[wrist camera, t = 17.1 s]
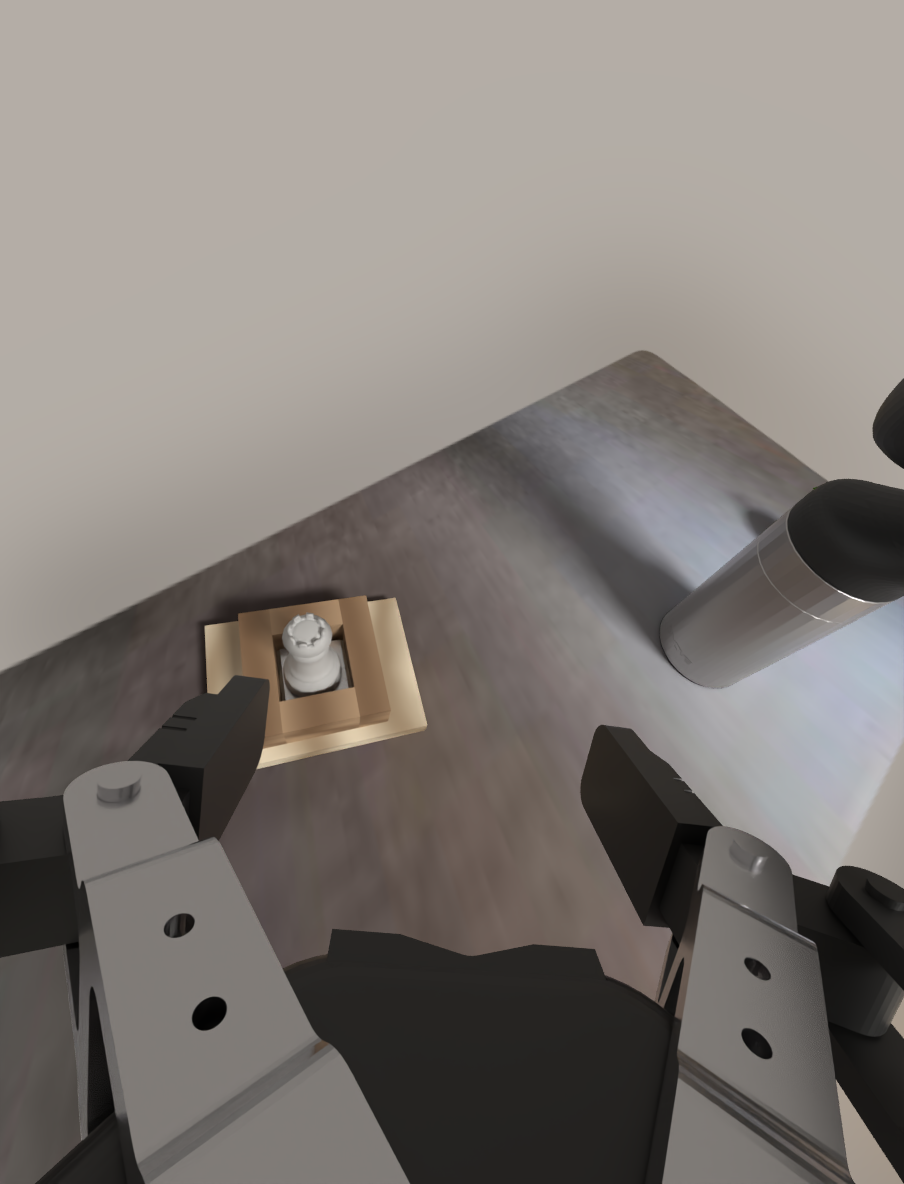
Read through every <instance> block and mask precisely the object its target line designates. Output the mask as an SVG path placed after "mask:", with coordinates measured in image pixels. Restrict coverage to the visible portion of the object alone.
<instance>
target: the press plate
mask: <svg viewBox="0 0 904 1184" xmlns="http://www.w3.org/2000/svg"><path fill="white" fill-rule="evenodd" d="M329 646H330V647H332V649H333V650H334V651H335V652H336V653H337V654H338V656H339V660H340V663H341V668H342V672H341V678H340V681H339V682H338V684H337V685H336V687H335V689H333V690H332V691H337V690H342V689H347V688H349V687H348V682H347V676H346V671H345V665H344V659H343V654H342V648H341V643H340V640H334V641H331V643H330V645H329ZM288 654H289V652H288V650H287V649H280V656H281V665H282V673H283V667H284V662H285V659H286V657H287V656H288ZM283 682H284V691H285V699H286V700H291V699H296V698H301V697H300V696H298V695H296V694H294V693H292V692H291V691H290V689H289V688H288V687H287V686H286V684H285V680H284V676H283ZM332 691H331V692H332Z"/></svg>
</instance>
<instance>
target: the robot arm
mask: <svg viewBox="0 0 904 1184" xmlns="http://www.w3.org/2000/svg"><path fill="white" fill-rule="evenodd" d="M873 438H874V441H875V443H876V444H877V446H878V447H879V448H880V449H881V450H882V451H883V453H884V454H885V455H887V457H888V458H890V459H891V460H892V461H893V462H894V463H896V464H897V465H899V466H900V467H902V468H903V469H904V379H903V380H902V381H901V382H900V383H899V384H898V385H897V386H896V387H895V388H894V390H893V391H892V392H891V393H890V394H889V396H888V397H887V398H886V400H885V401H884V403H883V404H882V406H881V407H880V409H879V411H878V413H877V415H876V417H875V420H874V423H873ZM902 596H904V490H903V489H898V488H893V487H889V486H884V485H880V484H875V483H872V482H868V481H863V480H856V479H838V480H833V481H829V482H826V483H824V484H822V485H820V486H818V487H817V488H815V489H814V490H812V491H811V492H810V493H809V494H807V495H806V496H805V497H804V498H803V499H801V500H800V501H799V502H798V503H797V504H796V505H794V506H793V507H792V508H791V509H790V510H788V511H787V512H786V513H785V514H784V515H783V516H781V517H780V518H779V519H778V520H777V521H775V522H774V523H773V524H772V525H771V526H770V527H768V528H767V529H766V530H765V531H764V532H763V533H762V534H760V535H759V536H758V537H757V538H756V539H754V540H753V541H752V542H751V543H750V544H749V545H747V546H746V547H745V548H744V549H743V550H741V551H740V552H739V553H738V554H737V555H736V556H734V557H733V558H732V559H731V560H730V561H728V562H727V563H726V564H725V565H724V566H723V567H721V568H720V569H719V570H718V571H717V572H715V573H714V574H713V575H712V576H711V577H710V578H708V579H707V580H706V581H705V582H704V583H702V584H701V585H700V586H699V587H698V588H697V589H695V590H694V591H693V592H692V593H691V594H689V595H688V596H687V597H686V598H685V599H683V600H682V601H681V602H680V603H679V604H678V605H677V606H675V607H674V608H673V609H672V610H671V611H670V612H668V613H667V614H666V615H665V617H664V618H663V620H662V623H661V626H660V639H661V644H662V647H663V649H664V652H665V654H666V655H667V657H668V659H669V660H670V662H671V663H672V664H673V665H674V667H675V668H676V669H677V670H678V671H679V672H680V673H681V674H683V675H684V676H685V677H686V678H688V679H690V680H691V681H693V682H694V683H697V684H699V685H702V686H704V687H709V688H725V687H728V686H731V685H733V684H735V683H737V682H738V681H740V680H742V679H744V678H746V677H748V676H750V675H752V674H754V673H756V672H758V671H760V670H762V669H764V668H766V667H768V666H770V665H772V664H774V663H776V662H777V661H779V660H781V659H783V658H785V657H787V656H789V655H791V654H793V653H795V652H797V651H799V650H801V649H803V648H804V647H806V646H808V645H810V644H812V643H814V642H816V641H818V640H820V639H822V638H824V637H826V636H828V635H830V634H831V633H833V632H835V631H837V630H839V629H841V628H843V627H845V626H847V625H849V624H851V623H853V622H855V621H857V620H858V619H860V618H862V617H864V616H866V615H868V614H870V613H871V612H873V611H875V610H877V609H879V608H881V607H883V606H885V605H887V604H889V603H891V602H893V601H895V600H896V599H899V598H900V597H902ZM269 692H270V682H269V680H268V679H262V678H254V677H247V676H240V675H235V676H233V677H232V678H231V680H230V681H229V682H228V683H227V684H226V685H225V687H224V688H223V689H222V690H221V691H220V692H219V693H218V694H211V693H204V694H202V695H200V696H198V697H195V698H193V699H191V700H189V701H187V702H185V703H184V704H183V705H182V706H181V707H180V708H179V709H178V710H177V711H176V712H175V713H174V714H173V716H172V718H169V719H168V720H167V721H166V722H165V723H164V724H163V725H162V728H159V729H158V731H157V732H156V733H155V734H154V735H153V736H152V737H151V738H150V739H149V740H148V741H147V742H146V743H145V744H144V745H143V746H142V747H141V748H140V749H139V750H138V751H137V752H136V753H135V754H134V755H133V756H132V757H131V758H130V759H129V760H128V761H124V762H116V763H111V764H107V765H103V766H100V767H97V768H95V769H92V770H90V771H88V772H86V773H84V774H82V775H81V776H79V777H78V778H76V779H75V780H74V781H73V782H72V783H71V784H70V785H69V786H68V787H67V789H66V790H65V793H64V795H60V796H53V797H44V798H33V799H23V800H12V801H2V802H0V958H1V957H6V956H10V955H15V954H20V953H25V952H30V951H35V950H40V949H45V948H50V947H55V946H60V945H63V955H64V963H65V971H66V980H67V988H68V996H69V1004H70V1013H71V1021H72V1029H73V1037H74V1045H75V1054H76V1065H77V1081H78V1102H79V1117H80V1129H81V1140H82V1141H81V1142H80V1143H79V1144H78V1145H77V1146H76V1147H75V1148H74V1149H73V1150H71V1151H70V1152H69V1153H68V1154H67V1155H66V1156H65V1157H64V1158H63V1159H62V1160H61V1161H59V1162H58V1163H57V1164H56V1165H55V1166H54V1167H53V1168H52V1169H51V1170H50V1171H48V1172H47V1173H46V1174H45V1175H44V1176H43V1177H42V1178H41V1179H40V1180H39V1181H38V1182H36V1183H35V1184H855V1183H854V1181H853V1180H852V1178H851V1175H850V1172H849V1169H848V1164H847V1158H846V1151H845V1144H844V1137H843V1129H842V1122H841V1115H840V1108H839V1100H838V1093H837V1086H836V1080H837V1082H838V1083H839V1085H840V1086H841V1088H842V1089H843V1090H844V1092H845V1094H846V1095H847V1097H848V1099H849V1100H850V1102H851V1103H852V1105H853V1106H854V1108H855V1109H856V1111H857V1112H858V1114H859V1115H860V1117H861V1119H862V1120H863V1122H864V1123H865V1125H866V1126H867V1128H868V1129H869V1131H870V1132H871V1134H872V1135H873V1137H874V1138H875V1140H876V1142H877V1143H878V1145H879V1146H880V1148H881V1149H882V1151H883V1152H884V1154H885V1155H886V1157H887V1158H888V1160H889V1161H890V1163H891V1165H892V1166H893V1167H894V1169H895V1171H896V1172H897V1173H898V1175H899V1177H900V1178H901V1180H902V1182H903V1183H904V1039H903V1037H902V1036H901V1035H900V1034H899V1032H898V1031H897V1030H896V1029H895V1028H894V1026H893V1025H892V1024H891V1021H892V1019H893V1017H894V1015H895V1013H896V1011H897V1009H898V1007H899V1005H900V1003H901V1002H902V999H903V998H904V889H903V888H901V887H900V886H898V885H897V884H895V883H893V882H891V881H890V880H888V879H886V878H884V877H882V876H880V875H877V874H875V873H873V872H870V871H868V870H865V869H861V868H858V867H854V866H841V867H839V868H838V869H837V870H836V873H835V875H834V877H833V880H832V882H831V884H830V887H829V886H826V885H823V884H820V883H817V882H814V881H810V880H807V879H804V878H801V877H798V876H795V875H792V871H791V869H790V867H789V865H788V863H787V862H786V861H785V859H784V858H783V857H782V856H781V855H780V854H779V853H778V852H777V851H776V850H774V849H773V848H772V847H770V846H769V845H768V844H766V843H765V842H763V841H762V840H760V839H758V838H756V837H754V836H752V835H750V834H748V833H746V832H744V831H741V830H738V829H735V828H731V827H725V826H722V824H721V823H720V822H719V821H718V820H717V819H716V818H715V816H714V815H713V814H712V813H711V812H710V811H709V810H708V808H707V807H706V806H705V805H704V804H703V803H702V801H701V800H700V799H699V798H698V797H697V796H696V795H695V793H692V790H691V789H690V788H689V787H688V785H687V784H686V783H685V782H684V781H681V777H680V776H679V775H678V774H677V773H676V772H675V770H674V769H673V768H672V767H671V766H670V765H669V764H668V763H667V762H665V761H664V760H662V759H661V758H660V757H658V756H657V755H655V754H654V753H653V752H651V751H650V750H649V749H648V748H647V747H646V745H645V744H644V743H643V742H642V741H641V739H640V738H639V737H638V736H637V735H636V733H635V732H634V731H633V730H632V729H629V728H621V727H614V726H606V725H600V726H599V727H598V728H597V729H596V731H595V733H594V736H593V740H592V744H591V747H590V751H589V754H588V758H587V762H586V765H585V769H584V772H583V776H582V780H581V800H582V804H583V807H584V809H585V811H586V813H587V815H588V817H589V819H590V821H591V823H592V825H593V827H594V829H595V831H596V833H597V835H598V837H599V839H600V841H601V843H602V845H603V847H604V849H605V851H606V852H607V854H608V856H609V858H610V860H611V862H612V864H613V866H614V868H615V870H616V872H617V874H618V876H619V878H620V880H621V882H622V884H623V886H624V888H625V890H626V892H627V894H628V896H629V898H630V900H631V902H632V904H633V906H634V908H635V910H636V912H637V914H638V916H639V918H640V920H641V922H642V924H643V926H655V927H667V928H670V929H671V931H672V935H671V938H670V941H669V943H668V946H667V949H666V954H665V958H664V963H663V967H662V971H661V976H660V980H659V985H658V989H657V993H656V998H655V1002H654V1001H653V1000H651V999H650V998H649V997H647V996H646V995H644V994H643V993H641V992H639V991H637V990H636V989H634V988H632V987H630V986H629V985H627V984H625V983H622V982H620V981H618V980H616V979H613V978H611V977H608V976H605V975H604V972H603V970H602V967H601V964H600V962H599V959H598V956H597V954H596V951H595V949H586V948H573V947H560V946H547V945H534V944H533V945H528V946H523V947H518V948H513V949H508V950H503V951H498V952H493V953H488V954H483V955H478V956H466V955H462V954H459V953H456V952H453V951H450V950H447V949H444V948H441V947H438V946H434V945H431V944H428V943H425V942H422V941H419V940H416V939H413V938H410V937H407V936H404V935H401V934H391V933H378V932H365V931H352V930H339V929H332V934H331V940H330V945H329V951H328V954H326V955H321V956H316V957H312V958H309V959H306V960H302V961H299V962H296V963H294V964H292V965H289V966H287V967H285V968H283V969H282V967H281V965H280V963H279V961H278V959H277V957H276V955H275V953H274V951H273V949H272V947H271V945H270V943H269V941H268V939H267V937H266V935H265V933H264V931H263V929H262V927H261V925H260V923H259V921H258V919H257V917H256V915H255V913H254V911H253V909H252V907H251V905H250V903H249V901H248V899H247V897H246V895H245V893H244V890H243V888H242V886H241V884H240V882H239V880H238V878H237V876H236V874H235V872H234V870H233V868H232V866H231V864H230V862H229V860H228V858H227V856H226V854H225V852H224V850H223V848H222V846H221V845H220V843H219V839H220V837H221V835H222V834H223V832H224V830H225V828H226V826H227V824H228V822H229V820H230V818H231V816H232V815H233V813H234V811H235V809H236V807H237V805H238V803H239V801H240V799H241V797H242V795H243V794H244V792H245V790H246V788H247V786H248V784H249V782H250V780H251V778H252V776H253V775H254V773H255V771H256V769H257V766H258V764H259V761H260V758H261V754H262V750H263V745H264V738H265V729H266V720H267V711H268V701H269Z"/></svg>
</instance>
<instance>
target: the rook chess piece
mask: <svg viewBox="0 0 904 1184" xmlns="http://www.w3.org/2000/svg"><path fill="white" fill-rule="evenodd" d="M292 619H293V620H291V621H289V623H288V624H287V625H286V627H285V628H284V631H283V635H282V640H283V644H284V647H285V648H286V649H287V650H288V652H289V654H288V656H287V657H286V659H285V662H284V667H283V676H284V680H285V684H286V686H287V687H288V688H289V689H290V691H291V692H292V693H294V694H296V695H298V696H300V697H306V696H311V695H317V694H322V693H327V692H331V691H332V690H333V689H335V687H336V685H337V684H338V682H339V681H340V678H341V672H342V668H341V663H340V660H339V656H338V654H337V653H336V652H335V651H334V650H333V649H332V647H330V646H329V645H330V643H331V639H332V631H331V627H330V625H329V624H328V623H327V622H326V620H325V619H323V618H321V617H319V616H317V615H314V613H307V612H306V615H301V616H299V614H298V615H296V616H295V617H293V618H292Z"/></svg>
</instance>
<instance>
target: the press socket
mask: <svg viewBox="0 0 904 1184" xmlns="http://www.w3.org/2000/svg"><path fill="white" fill-rule="evenodd" d="M306 612H307V613H314V615H317V616H319V617H321V618H323V619H325V620H326V622H327V623H328V624H329V625H330V627H331V631H332V639H331V641H334V640H340V643H341V648H342V654H343V659H344V665H345V671H346V676H347V682H348V687H349V688H347V689H342V690H337V691H332V692H327V693H322V694H317V695H311V696H306V697H301V698H296V699H291V700H286V699H285V691H284V682H283V673H282V665H281V656H280V649H286V648H285V647H284V644H283V640H282V635H283V631H284V628H285V627H286V625H287V624H288V623H289V621H291V620H293V619H292V618H293V617H295V616H296V615H298V614H299V616H301V615H306ZM205 644H206V669H207V693H211V694H218V693H219V692H220V691H221V690H222V689H223V688H224V687H225V685H226V684H227V683H228V682H229V681H230V680H231V678H232V677H233V676H235V675H240V676H247V677H254V678H262V679H268V680H269V682H270V692H269V701H268V711H267V720H266V729H265V738H264V745H263V750H262V754H261V758H260V761H259V764H258V766H257V769H259V768H264V767H268V766H272V765H277V764H281V763H285V762H290V761H294V760H298V759H303V758H307V757H311V756H316V755H320V754H324V753H329V752H333V751H337V750H342V749H346V748H350V747H355V746H359V745H363V744H367V743H372V742H376V741H380V740H385V739H389V738H393V737H398V736H402V735H406V734H411V733H415V732H419V731H424V730H425V729H426V727H427V722H426V718H425V714H424V710H423V706H422V702H421V698H420V694H419V690H418V686H417V682H416V678H415V674H414V670H413V666H412V662H411V658H410V654H409V650H408V646H407V642H406V638H405V634H404V630H403V626H402V622H401V618H400V614H399V610H398V606H397V602H396V598H391V599H384V600H377V601H370V602H367V597H366V595H365V596H358V597H351V598H344V599H337V600H330V601H323V602H316V603H309V604H302V605H295V606H288V607H281V608H274V609H267V610H260V611H253V612H246V613H239V614H238V621H234V622H227V623H220V624H214V625H207V626H205Z"/></svg>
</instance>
